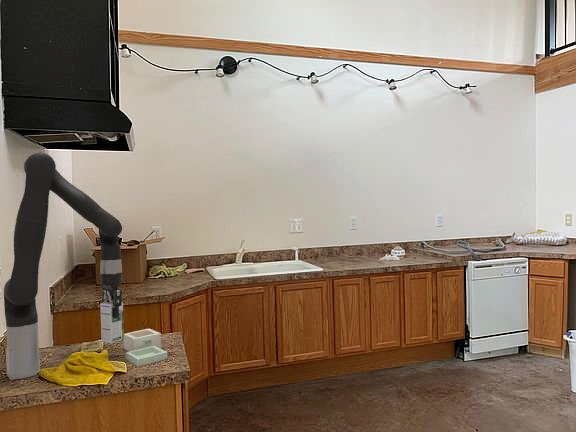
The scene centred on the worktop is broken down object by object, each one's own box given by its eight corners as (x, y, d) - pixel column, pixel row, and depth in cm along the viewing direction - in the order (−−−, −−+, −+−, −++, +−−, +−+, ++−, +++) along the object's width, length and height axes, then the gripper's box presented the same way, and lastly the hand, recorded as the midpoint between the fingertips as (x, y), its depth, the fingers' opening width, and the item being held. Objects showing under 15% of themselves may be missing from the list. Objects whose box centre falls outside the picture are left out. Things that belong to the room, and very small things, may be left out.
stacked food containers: (135, 355, 167) (134, 339, 167) (123, 349, 175) (123, 333, 175) (162, 349, 174) (161, 333, 174) (149, 343, 182) (149, 328, 182)
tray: (138, 366, 155) (137, 359, 155) (125, 359, 163) (125, 352, 163) (167, 358, 162) (167, 352, 162) (154, 352, 170) (154, 345, 170)
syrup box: (111, 343, 163) (110, 304, 163) (100, 341, 166) (100, 302, 166) (124, 339, 168) (123, 301, 168) (113, 337, 171) (112, 300, 171)
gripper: (94, 271, 170) (95, 314, 170) (107, 274, 159) (108, 320, 159) (114, 269, 175) (115, 311, 175) (128, 272, 164) (129, 317, 164)
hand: (112, 315), depth 167 cm, fingers closed on syrup box, 6 cm apart
